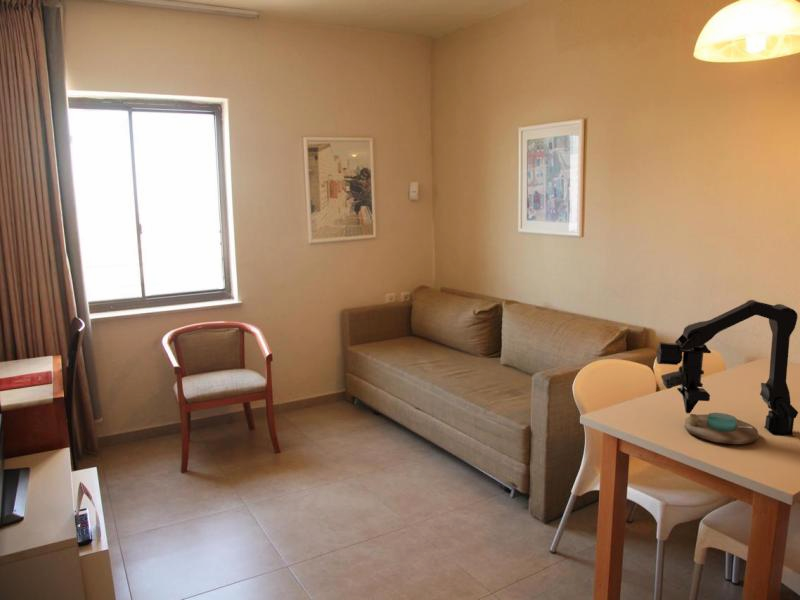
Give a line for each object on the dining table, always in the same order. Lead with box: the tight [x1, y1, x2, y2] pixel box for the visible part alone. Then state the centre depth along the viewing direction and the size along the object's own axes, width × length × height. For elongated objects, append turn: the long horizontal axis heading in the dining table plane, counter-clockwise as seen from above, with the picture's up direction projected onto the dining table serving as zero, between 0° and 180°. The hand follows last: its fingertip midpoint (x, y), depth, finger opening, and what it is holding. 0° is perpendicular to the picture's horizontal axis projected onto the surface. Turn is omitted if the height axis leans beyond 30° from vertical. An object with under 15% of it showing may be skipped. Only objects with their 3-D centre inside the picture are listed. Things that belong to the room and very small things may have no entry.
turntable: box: [684, 413, 759, 445], centre depth 192 cm, size 20×20×4 cm
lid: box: [707, 412, 738, 432], centre depth 192 cm, size 8×8×3 cm
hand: (687, 413), depth 199 cm, fingers closed
